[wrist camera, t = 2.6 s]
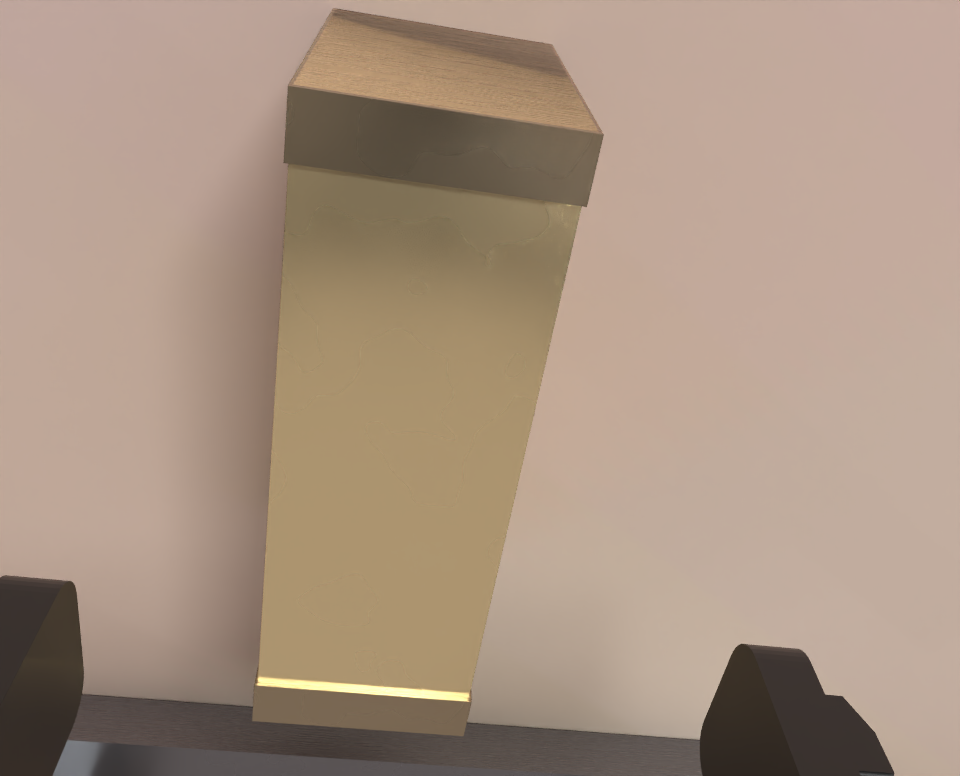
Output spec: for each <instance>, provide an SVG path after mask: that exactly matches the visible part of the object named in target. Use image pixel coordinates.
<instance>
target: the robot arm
mask: <svg viewBox="0 0 960 776" xmlns="http://www.w3.org/2000/svg"><path fill="white" fill-rule="evenodd" d="M83 680H84V668H83V657H82V646H81V635H80V624H79V613H78V603H77V593H76V588H75V585H74V583H73V582H71V581H62V580H51V579H40V578H29V577H18V576H7V575H5V576H2V577H1V578H0V776H53V773H54V771H55V769H56V766H57V764H58V761H59V759H60V757H61V754H62V752H63V749H64V747H65V745H66V742H67V740H68V738H69V735H70V733H71V730H72V728H73V725H74V723H75V720H76V717H77V713H78V710H79V705H80V701H81V696H82V689H83ZM700 764H701V771H702V775H703V776H894V771H893V769H892V767H891V765H890V763H889V761H888V759H887V757H886V755H885V752H884V750H883V748H882V746H881V744H880V742H879V740H878V738H877V736H876V734H875V732H874V731H873V730H872V729H871V728H870V727H869V725H868V724H867V723H866V722H865V721H864V720H863V719H862V718H861V717H860V715H859V714H858V713H857V712H856V711H855V710H854V709H853V708H852V706H851V705H850V704H849V703H848V702H847V701H846V700H845V699H844V698H843V696H834V695H825V694H824V691H823V689H822V687H821V684H820V682H819V680H818V678H817V675H816V673H815V671H814V669H813V666H812V664H811V662H810V660H809V658H808V657H807V655H806V654H805V653H804V652H803V651H802V650H800V649H793V648H782V647H770V646H759V645H748V644H740V645H738V646H737V647H736V648H735V650H734V651H733V653H732V655H731V657H730V660H729V662H728V665H727V667H726V669H725V672H724V674H723V677H722V679H721V681H720V684H719V686H718V689H717V691H716V693H715V696H714V698H713V701H712V703H711V705H710V708H709V710H708V713H707V715H706V717H705V720H704V723H703V726H702V730H701V736H700Z"/></svg>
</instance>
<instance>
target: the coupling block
mask: <svg viewBox="0 0 960 776" xmlns="http://www.w3.org/2000/svg"><path fill="white" fill-rule="evenodd" d="M603 135H604V134H603V133H602V131H601V129H600V127H599V126H598V124H597V122H596V120H595V119H594V117H593V115H592V113H591V112H590V110H589V108H588V106H587V105H586V103H585V101H584V99H583V98H582V96H581V94H580V92H579V91H578V89H577V87H576V85H575V84H574V82H573V80H572V78H571V77H570V75H569V73H568V71H567V70H566V68H565V66H564V64H563V63H562V61H561V59H560V57H559V56H558V54H557V52H556V51H555V49H554V47H553V45H551V44H545V43H539V42H533V41H527V40H521V39H515V38H509V37H503V36H497V35H491V34H485V33H479V32H473V31H467V30H461V29H455V28H449V27H443V26H437V25H431V24H425V23H419V22H413V21H407V20H401V19H395V18H389V17H383V16H377V15H371V14H365V13H359V12H353V11H347V10H341V9H335V8H333V10H332V11H331V13H330V15H329V16H328V18H327V20H326V22H325V23H324V25H323V27H322V28H321V30H320V32H319V34H318V35H317V37H316V39H315V40H314V42H313V44H312V46H311V47H310V49H309V51H308V52H307V54H306V56H305V58H304V59H303V61H302V63H301V64H300V66H299V68H298V69H297V71H296V73H295V75H294V76H293V78H292V80H291V81H290V83H289V85H288V96H287V113H286V131H285V149H284V163H288V179H287V196H286V213H285V230H284V247H283V264H282V281H281V298H280V315H279V332H278V349H277V365H276V382H275V399H274V416H273V433H272V450H271V467H270V484H269V501H268V518H267V535H266V552H265V568H264V585H263V602H262V619H261V636H260V653H259V665H258V670H257V674H256V679H255V684H254V698H253V716H252V721H259V722H273V723H286V724H300V725H314V726H328V727H342V728H356V729H369V730H383V731H397V732H411V733H425V734H439V735H453V736H464V732H465V728H466V723H467V719H468V715H469V711H470V706H471V686H472V681H473V677H474V673H475V668H476V664H477V660H478V655H479V651H480V646H481V642H482V638H483V633H484V629H485V625H486V620H487V616H488V612H489V607H490V603H491V599H492V594H493V590H494V586H495V581H496V577H497V573H498V568H499V564H500V560H501V555H502V551H503V546H504V542H505V538H506V533H507V529H508V525H509V520H510V516H511V512H512V507H513V503H514V499H515V494H516V490H517V486H518V481H519V477H520V473H521V468H522V464H523V459H524V455H525V451H526V446H527V442H528V438H529V433H530V429H531V425H532V420H533V416H534V412H535V407H536V403H537V399H538V394H539V390H540V386H541V381H542V377H543V372H544V368H545V364H546V359H547V355H548V351H549V346H550V342H551V338H552V333H553V329H554V325H555V320H556V316H557V312H558V307H559V303H560V299H561V294H562V290H563V285H564V281H565V277H566V272H567V268H568V264H569V259H570V255H571V251H572V246H573V242H574V238H575V233H576V229H577V225H578V220H579V216H580V212H581V207H582V206H584V207H587V204H588V200H589V195H590V191H591V187H592V183H593V178H594V174H595V170H596V165H597V161H598V157H599V153H600V148H601V144H602V140H603Z"/></svg>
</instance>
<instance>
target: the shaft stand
mask: <svg viewBox="0 0 960 776" xmlns="http://www.w3.org/2000/svg"><path fill="white" fill-rule="evenodd" d="M252 716H253V707H242V706H229V705H215V704H202V703H188V702H175V701H161V700H148V699H134V698H121V697H107V696H94V695H82V696H81V701H80V705H79V710H78V713H77V717H76V720H75V723H74V725H73V728H72V730H71V733H70V735H69V738H68V740H67V742H66V745H65V747H64V749H63V752H62V754H61V757H60V759H59V761H58V764H57V766H56V769H55V771H54V773H53V776H703V775H702V771H701V764H700V740H688V739H674V738H661V737H647V736H634V735H620V734H607V733H593V732H580V731H566V730H553V729H539V728H526V727H512V726H499V725H485V724H472V723H466V728H465V732H464V736H453V735H439V734H425V733H411V732H397V731H383V730H369V729H356V728H342V727H328V726H314V725H300V724H286V723H273V722H259V721H252Z"/></svg>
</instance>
